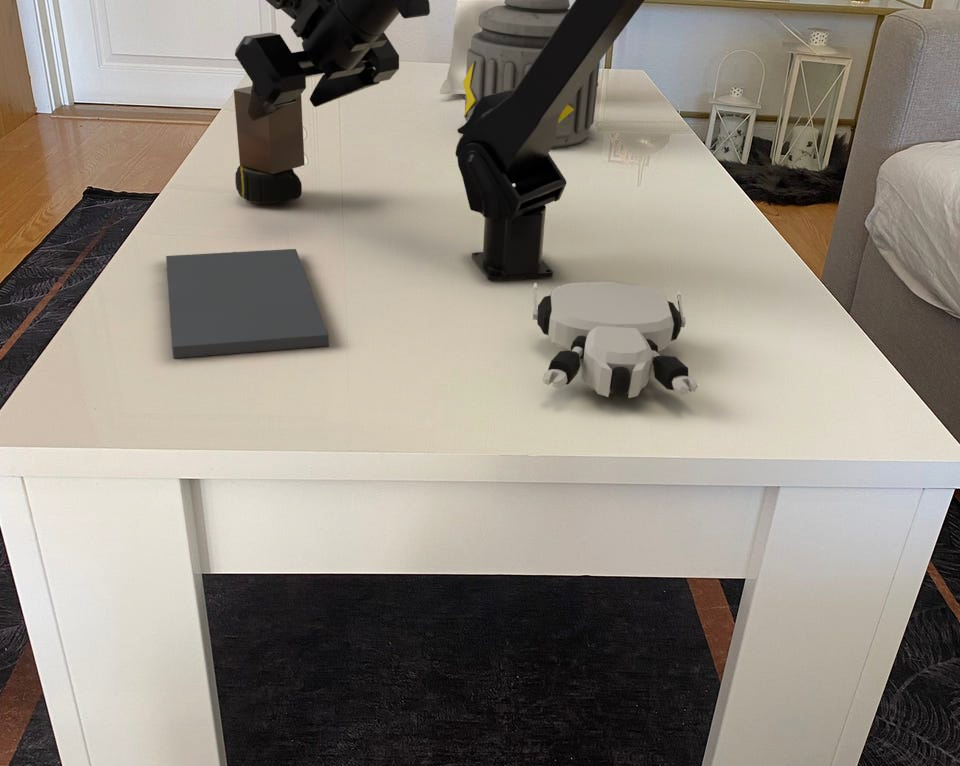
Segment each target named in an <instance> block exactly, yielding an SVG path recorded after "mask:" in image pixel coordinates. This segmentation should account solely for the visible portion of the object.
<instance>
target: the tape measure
mask: <svg viewBox="0 0 960 766" xmlns="http://www.w3.org/2000/svg"><path fill="white" fill-rule="evenodd" d="M234 174H235V175H234V177H235V189H236V191H237V193H238V195H239V197H241V198H242V199H244V200H246V201H248V202H251V203H255V205H259V204H276V203H282V202H289V201H294V200H297V199H299V198H301V196H302V193H303V185H302V184H303V183H302V181H301V179H300V178H299V176H298V175H297V174H296V172H295V171H294V168H293V169H290V170H286V171H283V172H279V173H276V174H270V173H266V172H262V171H259V170H255V169H251V168H247V167H244V166H240V165H239V166H238V167H237V169H236V172H235V173H234Z"/></svg>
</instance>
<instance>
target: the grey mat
mask: <svg viewBox="0 0 960 766" xmlns="http://www.w3.org/2000/svg"><path fill="white" fill-rule="evenodd" d="M165 260H166V261H165V262H166V275H167V291H168V304H169V320H170V332H171V333H170V334H171V335H170V336H171V348H172V349H171V350H172V356H173V359H182V358H194V357H206V356H208V357H209V356H220V355H232V354H243V353H244V354H245V353H257V352H266V351H267V352H269V351H281V350H293V349H305V348H318V347H319V348H320V347H330V346H329V345H330V342H329V341H330V340H329V333H328V331H327V328H326V325H325V322H324V320H323V317H322V314H321V312H320V309H319V306H318V304H317V301H316V298H315V296H314V293H313V290H312V288H311V286H310V283H309V280H308V278H307V275H306V272H305V269H304V267H303V264H302V261H301V258H300V257H299V254H298V251H297V249H296V248H287V249H284V248H283V249H270V250H268V249H267V250H266V249H265V250H250V251H249V250H248V251H232V252H231V251H230V252H213V253H212V252H211V253H196V254H195V253H193V254H177V255H176V254H175V255H174V254H173V255H166V256H165Z"/></svg>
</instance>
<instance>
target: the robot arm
mask: <svg viewBox="0 0 960 766" xmlns="http://www.w3.org/2000/svg"><path fill="white" fill-rule="evenodd" d="M265 1H266V3H268V4H269V5H270V6H272V7H273V8H274V9H275V10H276V11H277V10H281V11H282V12H284V13H285V14H286V15H287V16H288V17H289V18H291V19H292V20H294V21H293V23H292V24H291V26H290V29H291V30H292V32H293V33H294V35H295V36H296V38H300V39H301V40H302V41H301V47H302V50H300V51H293V52H292V51H291V49H290V47H289V46H288V44H287V43H286V41H285V40H284V38H283V37H282V35H281V34H280V33H274V32H265V33H258V34H257V33H256V34H251V35H244V36H243V38H242V39H241V40H240V42H239V44H238V45H237V46H236V48H235V51H234V56H235V58H236V59H237V61H238V62H239V64H240V66H241V67H242V69H243V70H244V72H245V73H246V75H247V76H248V78H249V79H250V80H251V82H252V83H251V86H252V90H251V95H250V100H249V106H248V115H249V116H250V118H251V119H252V121H256V120H258V119H261V118H263V117H265V116H267V115H269V114H271V113H273V112H275V111H278V110H280V109H282V108H284V107H286V106H288V105H290V104H292V103H294V102H296V100H295V98H296V97H298V96H299V95H301V96H302V94H303V92H305V90H306V89H307V79H309V78H314V77H319V76H321V77H320V79H319V80H318V82H317V84H316V85H315V87H314V89H313V90H312V93H311V95H310V97H309V101H310V103H311V104H312V106H313V107H314V108H318V107H320V106H322V105H325V104H328V103H330V102H333V101H336V100H338V99H341V98H343V97H347V96H348V95H352V94H354V93H357V92H360V91H362V90H365V89H369V88H370V87H373V86H377V85H379V84H380V83H381V82H385V81H389V80H391V79H392V78H393V77H394V75H395V74H396V73H397V72H398V71H399V69H400V55H399V53H398V52H397V50H396V49H395V47H394V46H393V44H392V42H391V41H390V39H389V38H388V36H387V35H386V33H385V31H387V29H388V28H389V27H390V26H391V24H392V23H393V22H394V21H395V19H396V18H397V17H398V15H400V16H401V17H402V19H404V20H405V19H406V20H407V19H412V18H421V17H427V16H429V15H430V13H431V7H430V0H265ZM644 2H645V0H574V1H573V3H572V5H570V7H569V8H568V9H569V11H568V12H567V13H566V15H565V16H564V18H563V19H562V21H561V22H560V24H559V25H558V27H557V28H556V30H555V31H554V33H553V34H552V36H551V37H550V38H549V40H548V41H547V43H546V44H545V46H544V47H543V49H542V50H541V52H540V53H539V55H538V56H537V58H536V59H535V61H534V62H533V64H532V65H531V66H530V68H529V69H528V71H527V72H526V74H525V75H524V77H523V78H522V80H521V81H520V83H519V84H518V86H517V87H516V88H514V89H511V90H507V91H503V92H499V93H495V94H491V95H487V96H483V97H481V98H480V100H479V101H478V103H477V104H476V106H475V108H474V110H473V113H472V115H471V117H470V119H469V120H468V121H466V122H465V124H464V125H462V126H461V127H459V128H458V129H457V133H458V134H460V135H461V137H460V138H459V140H458V142H457V144H456V147H455V157H456V158H457V159H456V160H457V167H458V169H459V171H460V174H461V178H462V181H463V186H464V190H465V194H466V198H467V201H468V205H469V206H468V207H469V210H470V211H472V212H475V213H479V214H480V215H482V216H483V217H484V225H483V243H482V245H483V247H482V251H475V252H472V253H471V260H472V261H473V262H474V263H475V264H476V266H477V267H478V268H479V270H480V271H481V272H482V274H483V275H484V276H485V277H486V279H487V280H489V281H492V282H493V281H494V282H495V281H506V280H507V281H509V280H524V279H525V280H526V279H538V278H551V277H553V276H554V270H553V269H552V267H550V266H549V265H548V264H547V262H545V260H543V248H544V238H545V237H544V236H545V226H546V225H545V224H546V213H547V206H546V205H549V204H551V203H553V202H558V201H559V200H560V199H561V198H562V195H563V192H564V190H565V188H566V186H567V179H566V177H565V176H564V175H563V173H562V172H561V170H560V168H559V167H558V166H557V164H556V162H555V161H554V159H553V158H552V157H551V155H550V154H549V153H550V151H551V150H552V148H551V147H552V145H553V143H554V141H555V137H556V132H557V126H558V121H559V117H560V115H561V113H562V112H563V110H564V109H565V107H566V106H567V105H568V103H569V102H570V101H571V99H572V98H573V97H574V95H575V94H576V93H577V91H578V90H579V89H580V87H581V86H582V84H583V83H584V82H585V80H586V79H587V78H588V76H589V75H590V74H591V72H592V71H593V70H594V68H595V67H596V65H597V64H598V63H599V61H600V62H601V60H602V59H603V57H604V56H605V55H606V54H607V52H608V51H609V49H610V48H611V47H612V45H613V44H614V42H615V41H616V40H617V38H618V37H619V36H620V34H621V33H622V32H623V30H624V29H625V27H626V26H627V25H628V23H629V22H630V21H631V19H632V18H633V17H634V15H635V14H636V13H637V11H638V10H639V9H640V7H641V6H642V5H643V3H644ZM514 185H515V186H514Z"/></svg>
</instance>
